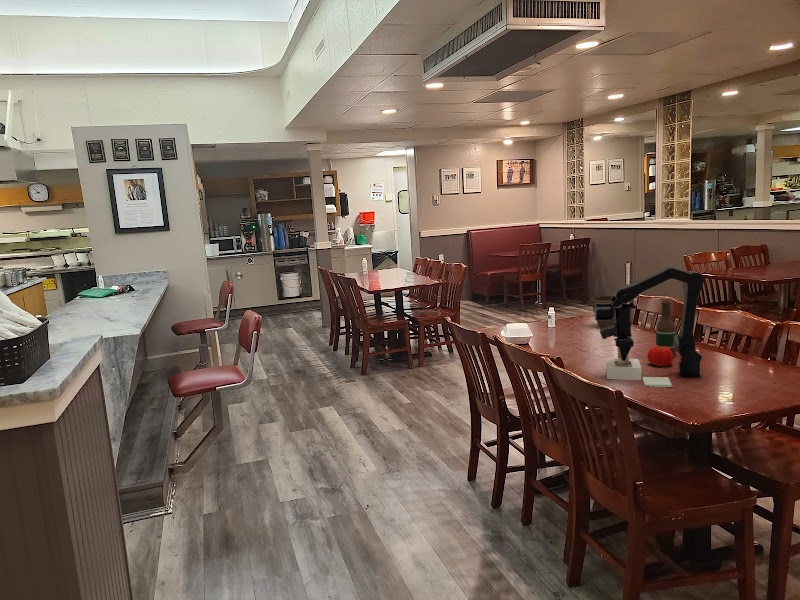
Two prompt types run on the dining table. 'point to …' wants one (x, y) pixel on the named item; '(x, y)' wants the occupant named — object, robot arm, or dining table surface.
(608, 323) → the plant pot
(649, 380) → the rest pad
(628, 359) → the tan cylinder
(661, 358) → the tomato
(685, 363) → the robot arm
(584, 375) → the dining table surface
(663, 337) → the beer bottle
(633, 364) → the box
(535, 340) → the dining table surface
